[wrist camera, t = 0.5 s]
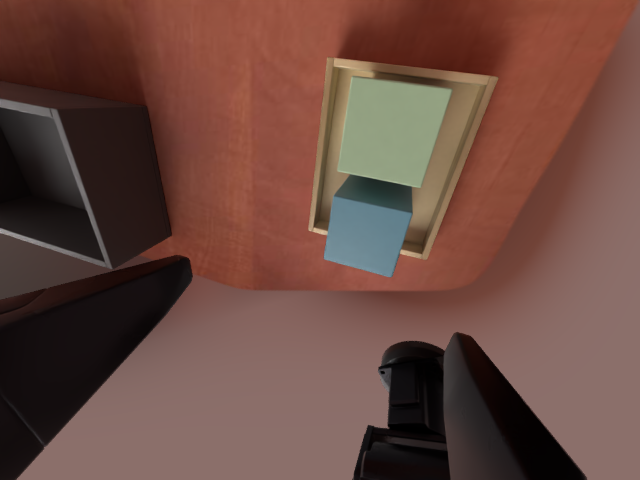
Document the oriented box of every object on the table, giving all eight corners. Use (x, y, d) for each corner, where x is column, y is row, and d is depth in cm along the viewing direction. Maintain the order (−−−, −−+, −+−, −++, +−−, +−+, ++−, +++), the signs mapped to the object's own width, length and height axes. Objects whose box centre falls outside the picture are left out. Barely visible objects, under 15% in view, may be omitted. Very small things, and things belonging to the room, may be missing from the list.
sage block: (439, 91, 15) (453, 88, 10) (417, 162, 17) (421, 188, 12) (369, 82, 16) (351, 75, 11) (357, 150, 18) (336, 171, 13)
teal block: (412, 179, 18) (413, 212, 13) (396, 231, 20) (391, 278, 15) (354, 168, 18) (333, 195, 13) (344, 219, 20) (323, 259, 15)
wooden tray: (488, 79, 15) (499, 76, 13) (425, 246, 20) (426, 260, 18) (335, 61, 16) (327, 56, 15) (316, 220, 22) (307, 230, 20)
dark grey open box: (146, 106, 21) (56, 108, 16) (171, 235, 28) (112, 270, 22) (-19, 77, 25) (-138, 71, 20) (35, 197, 31) (-44, 218, 26)
